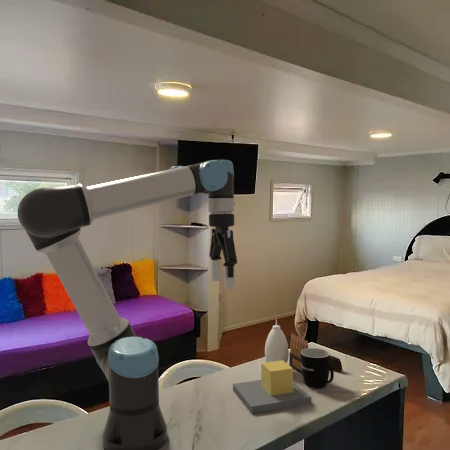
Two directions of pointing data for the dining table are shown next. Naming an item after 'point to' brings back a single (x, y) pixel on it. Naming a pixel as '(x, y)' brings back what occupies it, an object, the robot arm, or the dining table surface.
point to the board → (268, 397)
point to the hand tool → (335, 364)
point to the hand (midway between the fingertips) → (222, 284)
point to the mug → (316, 367)
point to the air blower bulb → (276, 345)
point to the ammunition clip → (296, 352)
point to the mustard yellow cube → (277, 377)
